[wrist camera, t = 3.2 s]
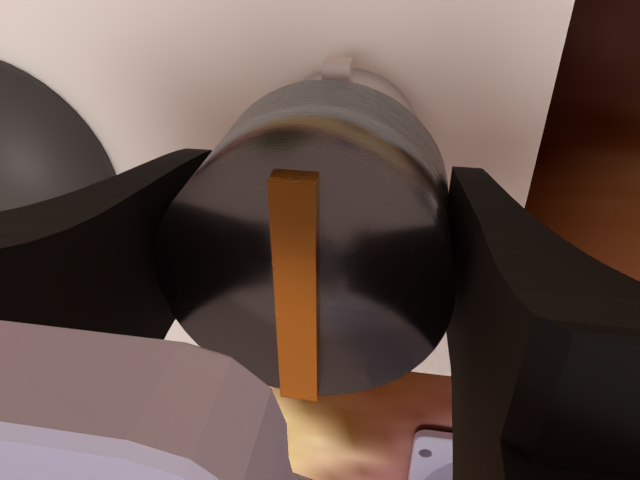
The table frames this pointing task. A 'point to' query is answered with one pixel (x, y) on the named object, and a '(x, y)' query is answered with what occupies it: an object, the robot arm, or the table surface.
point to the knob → (315, 242)
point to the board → (264, 82)
